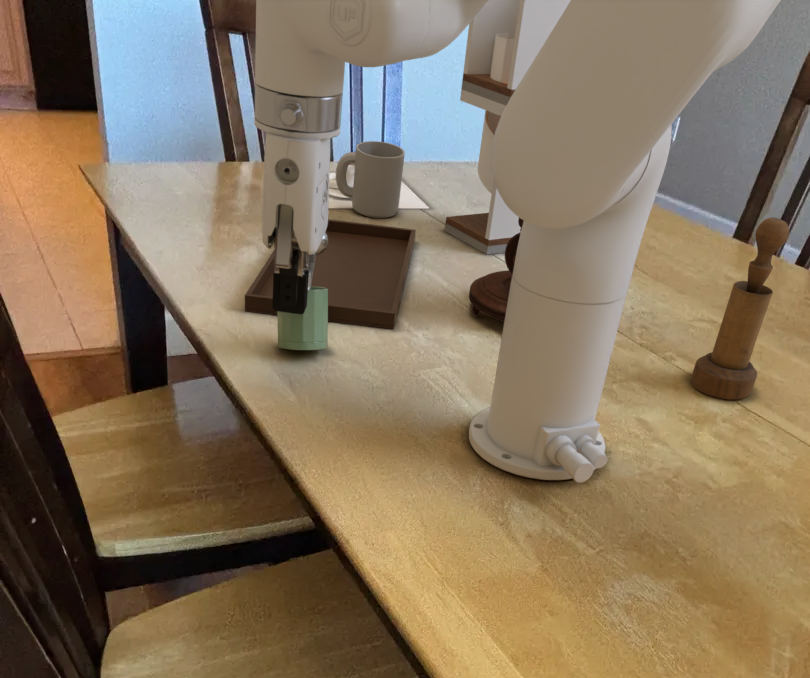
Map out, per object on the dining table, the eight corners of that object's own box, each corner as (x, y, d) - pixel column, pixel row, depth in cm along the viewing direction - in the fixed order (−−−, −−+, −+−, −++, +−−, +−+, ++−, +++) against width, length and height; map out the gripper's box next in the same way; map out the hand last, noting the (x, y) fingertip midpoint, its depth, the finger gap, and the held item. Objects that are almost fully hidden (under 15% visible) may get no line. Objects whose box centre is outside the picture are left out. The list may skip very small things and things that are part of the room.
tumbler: (333, 349, 91) (333, 290, 89) (283, 350, 89) (282, 289, 87) (321, 343, 95) (321, 286, 93) (273, 343, 93) (271, 285, 91)
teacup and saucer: (316, 185, 144) (317, 158, 141) (363, 185, 146) (364, 159, 143) (328, 201, 137) (329, 174, 135) (377, 201, 139) (379, 174, 137)
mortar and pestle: (705, 367, 99) (757, 205, 88) (760, 387, 96) (821, 221, 85) (680, 385, 95) (732, 216, 84) (736, 406, 92) (798, 234, 81)
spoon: (311, 342, 89) (312, 224, 86) (283, 340, 90) (282, 223, 86) (330, 335, 97) (331, 226, 94) (303, 333, 98) (304, 225, 94)
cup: (396, 221, 132) (402, 161, 126) (330, 212, 132) (334, 150, 126) (399, 204, 138) (406, 145, 132) (337, 195, 137) (340, 135, 132)
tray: (393, 329, 100) (395, 313, 98) (244, 311, 100) (244, 295, 99) (414, 243, 125) (415, 229, 124) (295, 228, 125) (295, 215, 124)
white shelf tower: (504, 224, 136) (547, -45, 115) (548, 246, 129) (601, -35, 108) (444, 230, 130) (478, -51, 110) (486, 254, 123) (530, -41, 103)
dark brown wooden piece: (558, 352, 99) (597, 166, 87) (445, 315, 104) (467, 136, 92) (604, 314, 109) (645, 143, 97) (499, 283, 115) (526, 118, 103)
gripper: (329, 137, 70) (315, 347, 81) (351, 99, 82) (336, 287, 93) (236, 123, 70) (235, 335, 81) (271, 87, 82) (266, 277, 93)
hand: (289, 309), depth 87 cm, fingers closed
